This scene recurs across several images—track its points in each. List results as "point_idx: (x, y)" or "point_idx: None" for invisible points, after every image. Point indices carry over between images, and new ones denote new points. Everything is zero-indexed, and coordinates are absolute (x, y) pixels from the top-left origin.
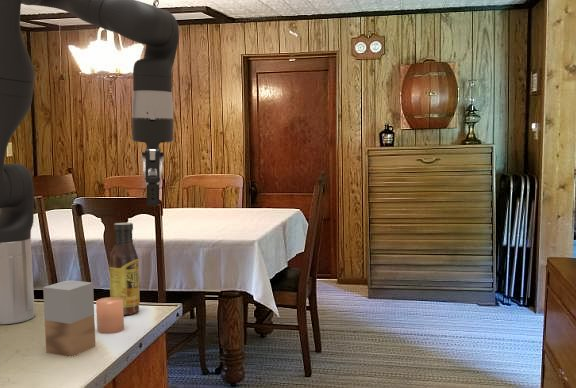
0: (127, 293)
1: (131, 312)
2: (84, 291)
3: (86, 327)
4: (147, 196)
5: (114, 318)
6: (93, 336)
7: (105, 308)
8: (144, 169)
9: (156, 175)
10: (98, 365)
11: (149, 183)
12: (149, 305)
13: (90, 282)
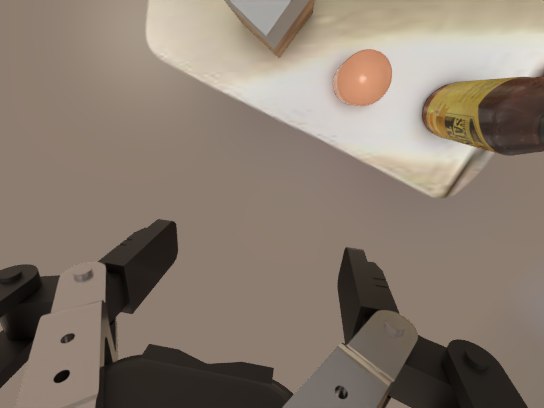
0: (439, 116)
1: (424, 120)
2: (246, 18)
3: (260, 37)
4: (139, 237)
5: (336, 88)
6: (274, 52)
7: (340, 70)
8: (40, 329)
9: (115, 352)
10: (199, 64)
11: (58, 279)
12: (470, 155)
13: (270, 29)
